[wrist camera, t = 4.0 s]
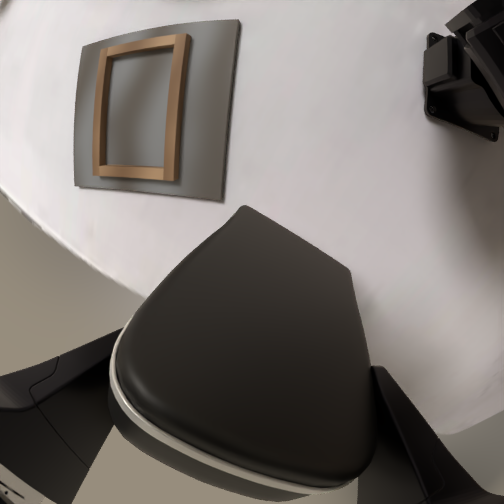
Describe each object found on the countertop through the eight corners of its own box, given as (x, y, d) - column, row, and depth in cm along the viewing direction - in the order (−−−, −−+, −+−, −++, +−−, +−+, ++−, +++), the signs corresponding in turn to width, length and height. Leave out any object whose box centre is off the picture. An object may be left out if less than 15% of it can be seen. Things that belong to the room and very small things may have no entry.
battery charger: (208, 256, 16) (76, 425, 5) (240, 198, 14) (75, 359, 4) (314, 318, 16) (293, 519, 6) (355, 270, 14) (390, 491, 4)
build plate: (239, 22, 14) (235, 15, 13) (222, 198, 20) (216, 203, 18) (86, 47, 16) (76, 45, 15) (78, 184, 22) (68, 188, 20)
